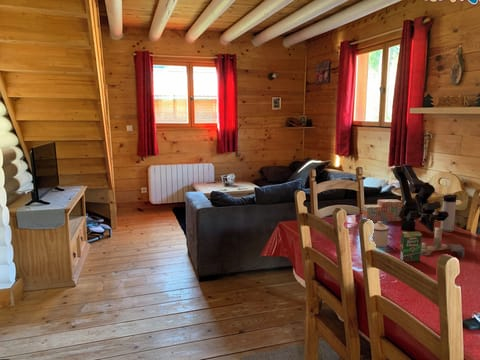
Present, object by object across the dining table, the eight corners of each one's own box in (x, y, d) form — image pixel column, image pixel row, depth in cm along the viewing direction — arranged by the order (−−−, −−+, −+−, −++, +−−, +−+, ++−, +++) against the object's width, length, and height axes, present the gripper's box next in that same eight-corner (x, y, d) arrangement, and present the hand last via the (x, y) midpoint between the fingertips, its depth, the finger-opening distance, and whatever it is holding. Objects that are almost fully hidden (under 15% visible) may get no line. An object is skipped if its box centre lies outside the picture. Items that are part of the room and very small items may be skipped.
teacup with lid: (388, 242, 185) (389, 220, 182) (387, 248, 176) (389, 225, 174) (363, 239, 189) (364, 217, 187) (362, 245, 181) (363, 222, 179)
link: (423, 253, 167) (424, 232, 165) (415, 250, 172) (416, 229, 170) (450, 249, 172) (452, 228, 170) (441, 246, 176) (443, 225, 175)
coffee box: (401, 261, 160) (404, 233, 158) (399, 259, 163) (401, 231, 161) (420, 261, 160) (422, 233, 158) (417, 259, 163) (419, 231, 161)
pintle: (415, 254, 169) (416, 244, 168) (415, 249, 175) (416, 239, 174) (431, 256, 166) (431, 246, 165) (430, 251, 172) (431, 241, 171)
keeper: (450, 257, 165) (451, 248, 164) (446, 252, 171) (447, 243, 170) (463, 258, 163) (464, 249, 163) (459, 253, 169) (460, 244, 169)
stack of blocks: (366, 222, 219) (367, 202, 216) (362, 219, 225) (363, 200, 223) (400, 221, 220) (402, 201, 218) (395, 218, 226) (396, 199, 224)
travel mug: (455, 232, 198) (459, 196, 195) (442, 231, 199) (445, 196, 196) (451, 228, 204) (455, 194, 201) (438, 228, 206) (442, 193, 202)
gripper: (410, 195, 179) (419, 224, 170) (448, 195, 179) (459, 223, 170) (402, 207, 188) (410, 234, 179) (438, 206, 188) (448, 234, 179)
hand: (432, 231), depth 177 cm, fingers closed
